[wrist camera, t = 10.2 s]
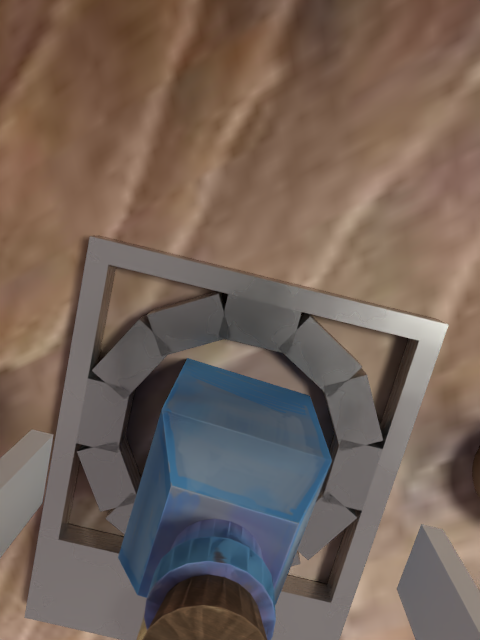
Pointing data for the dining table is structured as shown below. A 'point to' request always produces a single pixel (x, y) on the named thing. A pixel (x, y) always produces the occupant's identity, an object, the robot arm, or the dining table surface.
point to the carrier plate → (121, 470)
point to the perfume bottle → (222, 505)
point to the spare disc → (476, 472)
